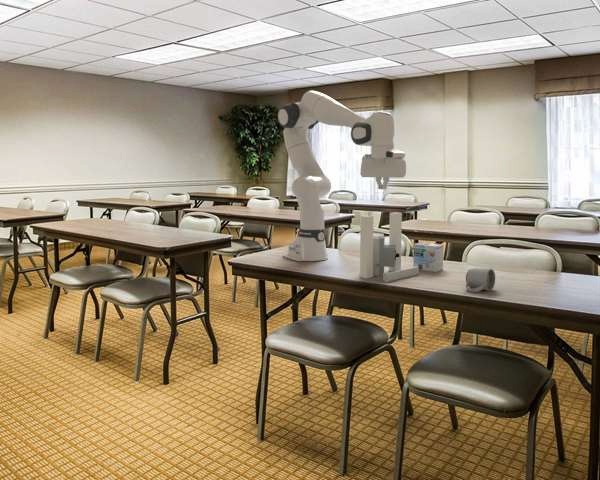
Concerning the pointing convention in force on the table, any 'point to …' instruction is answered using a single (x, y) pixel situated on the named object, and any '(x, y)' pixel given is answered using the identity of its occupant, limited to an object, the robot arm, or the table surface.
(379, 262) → the circuit breaker
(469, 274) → the ceramic mug
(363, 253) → the post
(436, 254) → the light bulb box
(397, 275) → the bar
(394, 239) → the post
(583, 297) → the table surface
